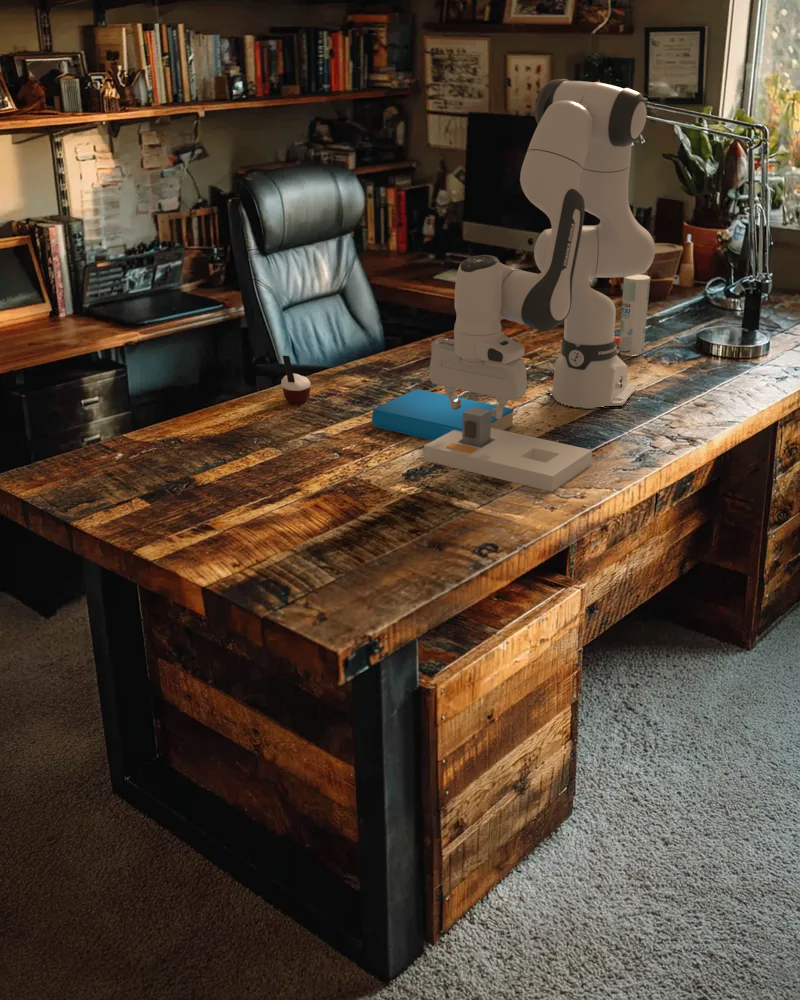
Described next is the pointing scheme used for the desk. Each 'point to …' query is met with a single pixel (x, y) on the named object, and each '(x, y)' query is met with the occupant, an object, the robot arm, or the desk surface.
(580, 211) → the robot arm
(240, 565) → the desk surface
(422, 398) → the book
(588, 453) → the socket board
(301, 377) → the cocoa
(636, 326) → the spray can
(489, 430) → the plug
